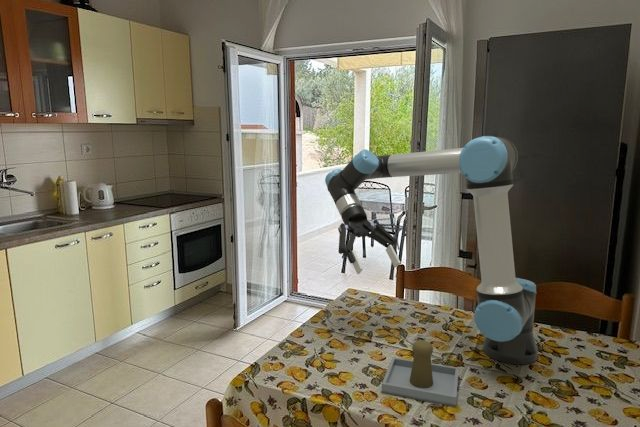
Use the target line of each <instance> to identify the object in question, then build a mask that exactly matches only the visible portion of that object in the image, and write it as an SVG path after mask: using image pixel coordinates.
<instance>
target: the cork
mask: <svg viewBox="0 0 640 427" xmlns="http://www.w3.org/2000/svg"><path fill="white" fill-rule="evenodd" d="M411 348H412V349H411V350H412V353H413V354H414V355H413V359H412V360H413V365H412V370H411V376H410V383H411V384H412V385H413V386H415V387H418V388H429V387H431V386H432V385H433V376H432V366H431V363H432V358H431V356H432V355H433V352H434V347H433V345H432V343H430V342H429V341H427V340H424V339H423V340H416V341H415V342H414V343H413V345H412V347H411Z"/></svg>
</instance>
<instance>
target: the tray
mask: <svg viewBox="0 0 640 427" xmlns="http://www.w3.org/2000/svg"><path fill="white" fill-rule="evenodd" d="M412 365H413V359H407V358H401V357H395V356H392V357H391V359H390V362H389V366H388V367H387V370H386V372H385V374H384V377H383V380H382V382H381V394H385V395H391V396H394V397H395V396H396V397H401V398H405V399H406V398H407V399H412V400H417V401H423V402H428V403H433V404H439V405H443V406H447V407H448V406H449V407H453V408H456V407H457V397H458V384H459V370H460V368H459V367H457V366H456V367H455V366H452V365H451V366H450V365H443V364H438V363H434V362H433V363H432V362H431V366H432V376H433V385H432V386H431V387H429V388H418V387H415V386H413V385H412V384H411V383H410V376H411V370H412Z"/></svg>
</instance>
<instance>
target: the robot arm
mask: <svg viewBox="0 0 640 427" xmlns="http://www.w3.org/2000/svg"><path fill="white" fill-rule="evenodd" d="M517 150H518V149H517V148H516V146H515V145H514V143H513V142H511V140H509V139H507V138H505V137H501V136H493V135H483V136H479V137H476V138H474V139H471V140H469V142H468V143H466V144H465V145H464V146H463V147H459V148H457V147H456V148H448V149H437V150H428V151H427V150H426V151H417V152H416V151H415V152H407V153H406V152H405V153H395V154H383V155H376V154H375V153H373V151H370V150H368V149H362V150H360V151H359V152H358V153H357V154H355V156H353V158H352V159H351V160H350V161H349V162H348V163H347V165H346V166H345V167H344V168H343V169H339V168H336V169H334V170H332V171H330V172H328V173H327V175H326V176H325V178H324V181H325V182H324V183H325V185H326V187H327V191H328V192H329V195H330V196H331V197H332V200H333V203H334V205H335V207H336V209H337V211H338V213H339V215H340V217H341V220H342V221H343V222H341V223H340V225H339V226H338V229H337V230H338V234H339V237H338V238H339V239H338V254H339V255H343V256H344V257H346V258H347V259H348V262H349V263H350V264H352V267H353V268H354V270H355V272H356V274H357V275H360V274H361V272H362V271H363V270H364V268H363V266H362V264H361V261H360V259H359V257H358V255H357V253H356V251H355V249H352V248H353V246H354V243H355V240H356V238H362V237H363V238H365V237H367V238H370V239H372V240H374V241H376V242H377V243H379V244H380V245H382V246H383V247H384V248H385V251H386V254H387V256H388V257H389V260H390V261H391V264H392V265H393V267H394V268H397V267H398V266H399V265H400V264H401V261H400V259H399V256H398V252H397V249H396V248H395V245H396V244H397V243H398V240H397V239H396V238H395V237H394V236H393V235H391V233H390V232H388V231H387V230H386V229H385V228H384V227H383V226H382V225H381V224H380V223H379V221H378V220H377V219H374V220H373V221H369V219H368V215H367V213H366V211H365V209H364V208H363V205H362V203H361V201H360V199H359V198H358V195H357V194H356V191H355V190H357V188H359V186H361V185H362V184H363V183H364V182H365V181H367V180H374V179H387V178H397V177H399V178H400V177H414V176H415V177H416V176H418V177H419V176H431V175H432V176H435V175H451V174H462V176H464V178H465V184H466V185H465V186H466V191H467V192H468V193H470V194H471V195H472V196H473V197H472V198H473V208H474V216H475V217H474V218H475V219H474V220H475V227H476V238H477V239H476V240H477V248H478V258H479V268H480V277H481V283H479V284H478V285H477V287H476V297H477V306H476V308H475V311H474V314H473V319H474V323H475V326H476V328H477V330H478V331H479V332H480V333H481V334H483V336H485V337H484V339H483V342H482V344H483V345H482V350H483V352H484V353H485V354H486V355H487V356H488V357H490V358H492V359H494V360H496V361H499V362H503V363H504V364H505V363H506V364H510V365H529V364H532V363H535V362H536V361H537V360H538V353H539V352H538V351H539V350H538V346H537V343H536V339H535V338H536V337H535V335H534V322H535V321H534V320H535V310H536V309H535V307H536V295H537V285H536V283H535V282H533V281H531V280H528V279H524V278H519V277H516V270H515V269H516V268H515V260H514V257H515V256H514V250H513V249H514V248H513V247H514V246H513V237H512V227H511V216H510V215H511V214H510V206H509V196H508V195H509V191H510V190H511V188H512V187H514V181H513V171H514V170H515V168H516V166H517V163H518V160H519V155H518V154H519V153H518V151H517ZM347 231H348V232H349V233H350V235H349V240H348V242H347V244H346V241H347Z"/></svg>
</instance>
